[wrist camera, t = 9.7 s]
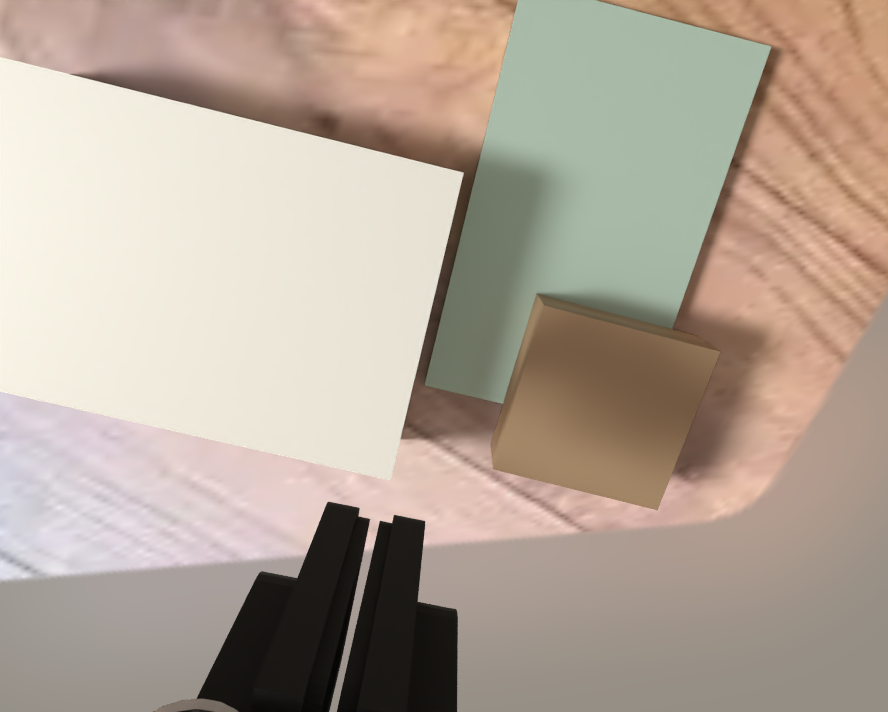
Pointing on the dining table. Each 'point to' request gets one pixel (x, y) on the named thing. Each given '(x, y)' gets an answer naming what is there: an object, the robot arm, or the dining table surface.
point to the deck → (213, 270)
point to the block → (600, 402)
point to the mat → (590, 177)
